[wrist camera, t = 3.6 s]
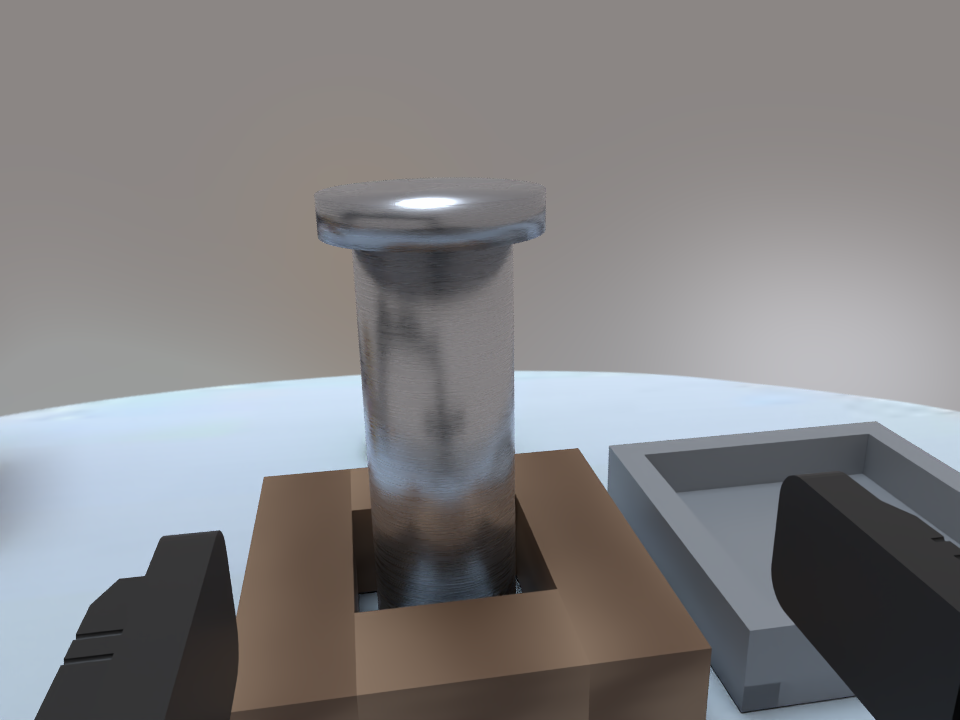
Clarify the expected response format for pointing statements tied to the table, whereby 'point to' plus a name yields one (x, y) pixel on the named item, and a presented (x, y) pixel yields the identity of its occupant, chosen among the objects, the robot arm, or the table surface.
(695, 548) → the grey tray
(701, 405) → the table surface
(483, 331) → the steel pin
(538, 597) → the walnut block
